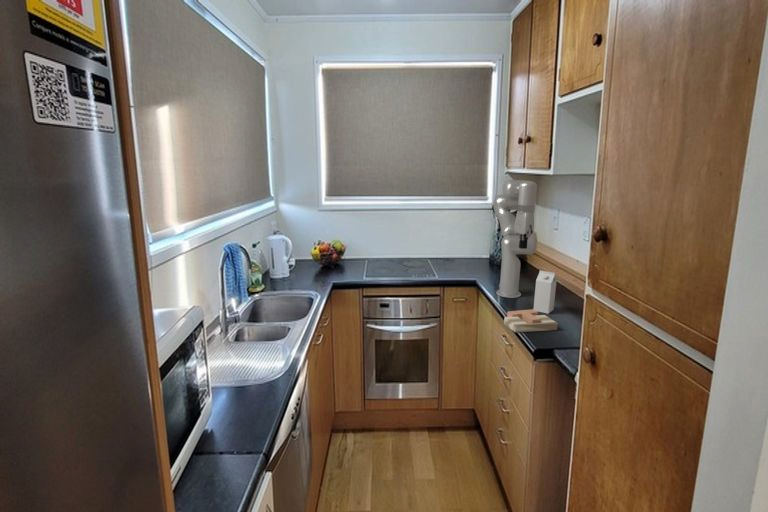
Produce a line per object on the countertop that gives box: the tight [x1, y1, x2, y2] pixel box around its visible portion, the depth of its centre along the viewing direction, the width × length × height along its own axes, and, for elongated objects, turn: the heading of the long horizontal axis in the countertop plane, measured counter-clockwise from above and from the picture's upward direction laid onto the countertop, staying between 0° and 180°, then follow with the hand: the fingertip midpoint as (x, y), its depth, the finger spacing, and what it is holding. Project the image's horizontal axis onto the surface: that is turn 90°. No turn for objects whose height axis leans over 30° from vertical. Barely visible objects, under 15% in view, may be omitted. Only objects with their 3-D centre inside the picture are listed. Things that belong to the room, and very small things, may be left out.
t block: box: [506, 308, 541, 323], centre depth 189 cm, size 12×13×4 cm
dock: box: [503, 314, 559, 333], centre depth 185 cm, size 10×19×3 cm, turn 101°
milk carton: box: [532, 269, 558, 314], centre depth 204 cm, size 7×7×19 cm
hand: (522, 248), depth 204 cm, fingers closed
